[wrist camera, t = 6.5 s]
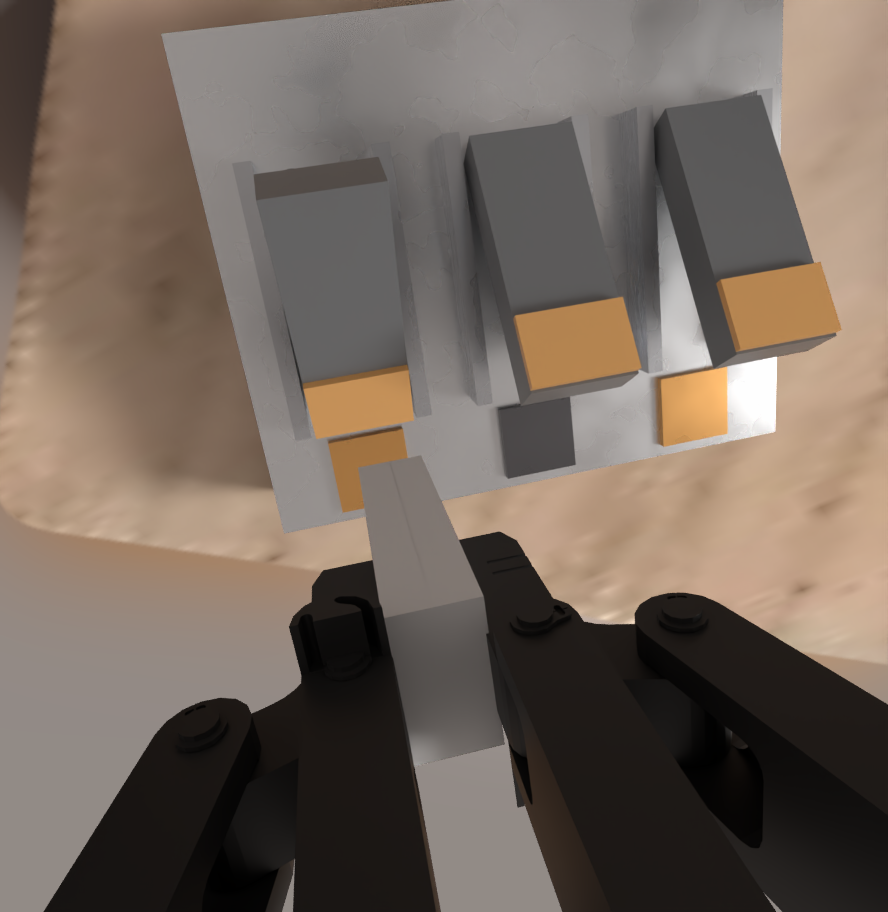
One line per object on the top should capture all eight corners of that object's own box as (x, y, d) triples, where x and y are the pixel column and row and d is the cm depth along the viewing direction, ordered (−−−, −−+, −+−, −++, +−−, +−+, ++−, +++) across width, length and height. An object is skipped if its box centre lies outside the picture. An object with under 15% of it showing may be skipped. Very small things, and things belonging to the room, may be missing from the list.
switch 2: (463, 164, 24) (470, 130, 23) (560, 150, 25) (574, 115, 23) (520, 406, 23) (533, 391, 21) (621, 386, 24) (642, 370, 22)
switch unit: (187, 68, 27) (150, 20, 21) (709, 4, 30) (812, -55, 23) (288, 490, 33) (282, 549, 27) (714, 405, 36) (797, 441, 29)
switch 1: (253, 174, 19) (256, 205, 18) (378, 156, 20) (389, 185, 19) (311, 406, 26) (316, 441, 25) (404, 388, 27) (414, 422, 25)
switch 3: (647, 137, 25) (669, 102, 23) (738, 123, 26) (766, 88, 24) (713, 368, 24) (741, 351, 22) (807, 351, 24) (842, 332, 23)
